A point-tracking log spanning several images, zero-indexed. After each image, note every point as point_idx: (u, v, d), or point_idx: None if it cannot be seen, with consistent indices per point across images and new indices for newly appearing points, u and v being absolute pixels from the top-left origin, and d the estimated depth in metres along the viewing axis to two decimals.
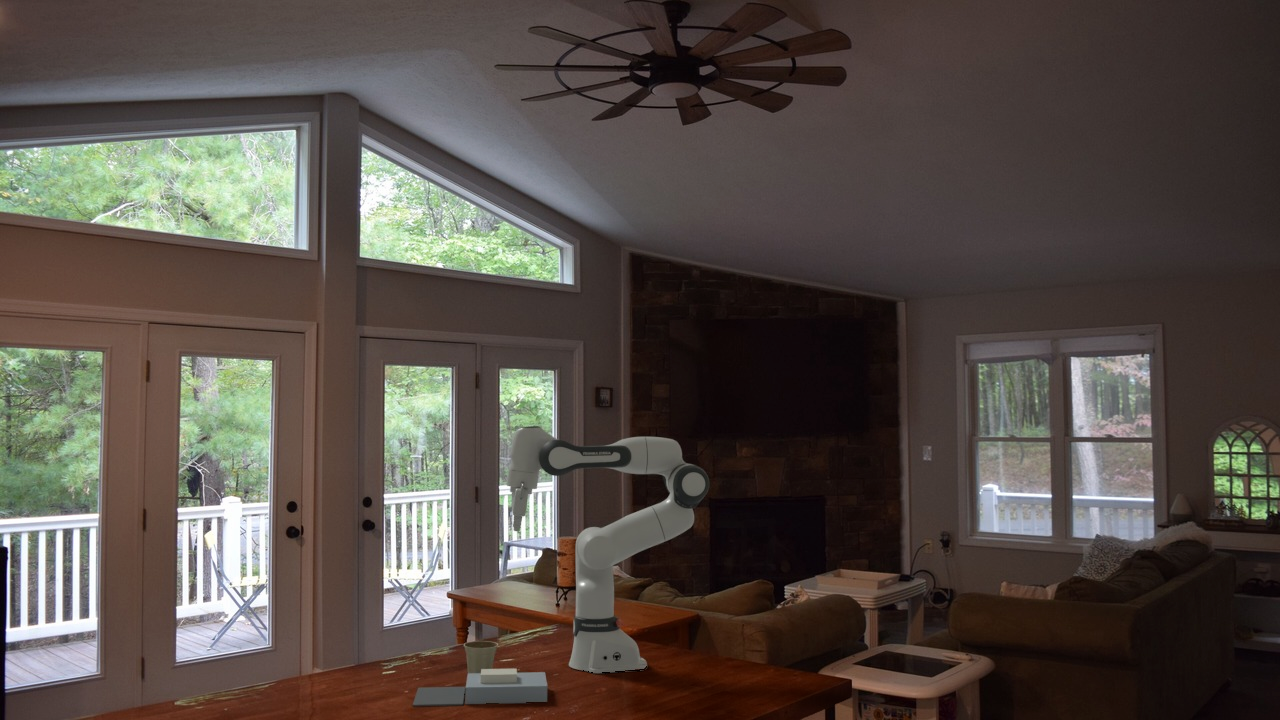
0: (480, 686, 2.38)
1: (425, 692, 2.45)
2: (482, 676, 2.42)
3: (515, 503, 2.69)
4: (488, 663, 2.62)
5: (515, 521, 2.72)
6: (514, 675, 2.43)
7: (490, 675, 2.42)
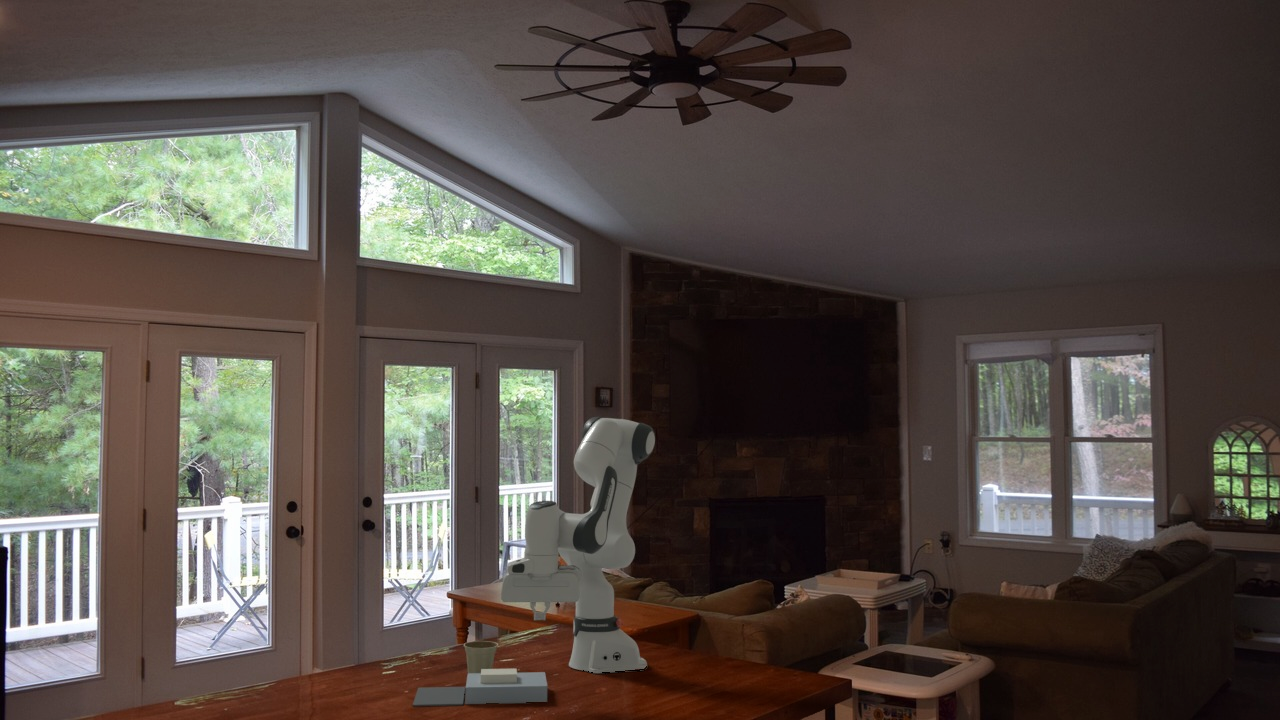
0: (480, 686, 2.38)
1: (425, 692, 2.45)
2: (482, 676, 2.42)
3: (579, 588, 2.48)
4: (488, 663, 2.62)
5: None
6: (514, 675, 2.43)
7: (490, 675, 2.42)
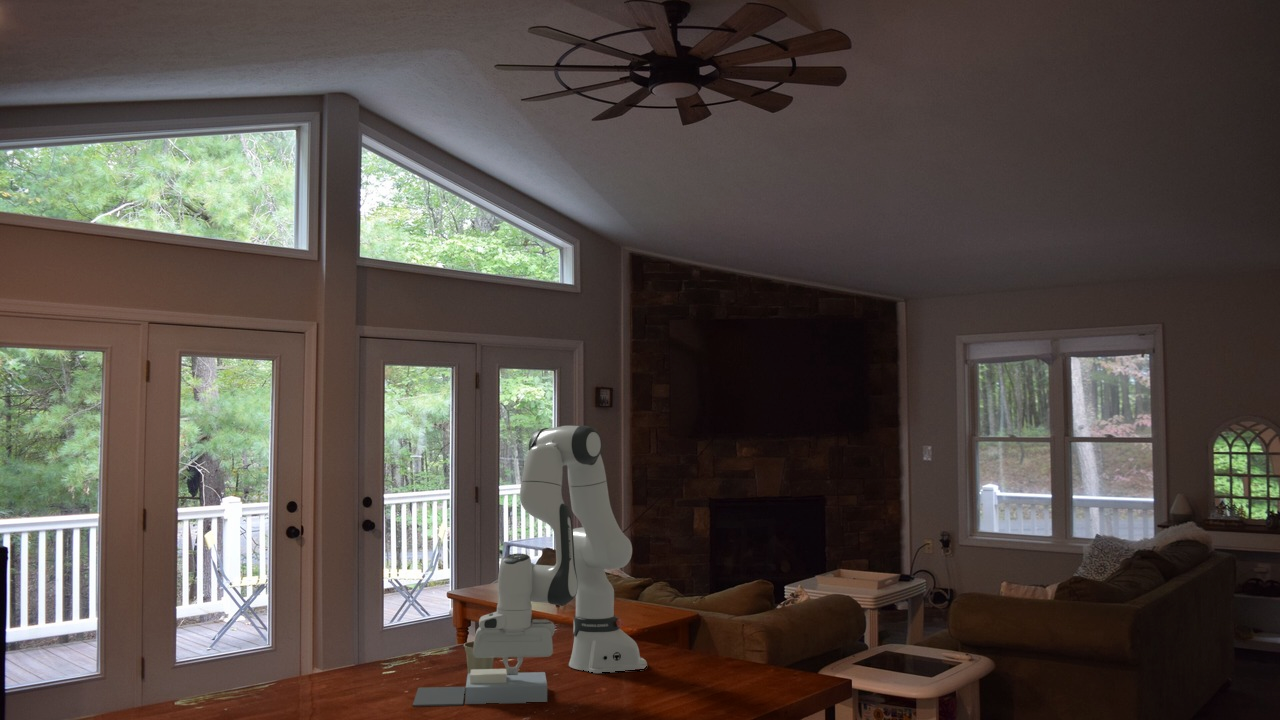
0: (480, 686, 2.38)
1: (425, 692, 2.45)
2: (471, 676, 2.41)
3: None
4: (488, 663, 2.62)
5: None
6: (504, 675, 2.43)
7: (479, 675, 2.42)
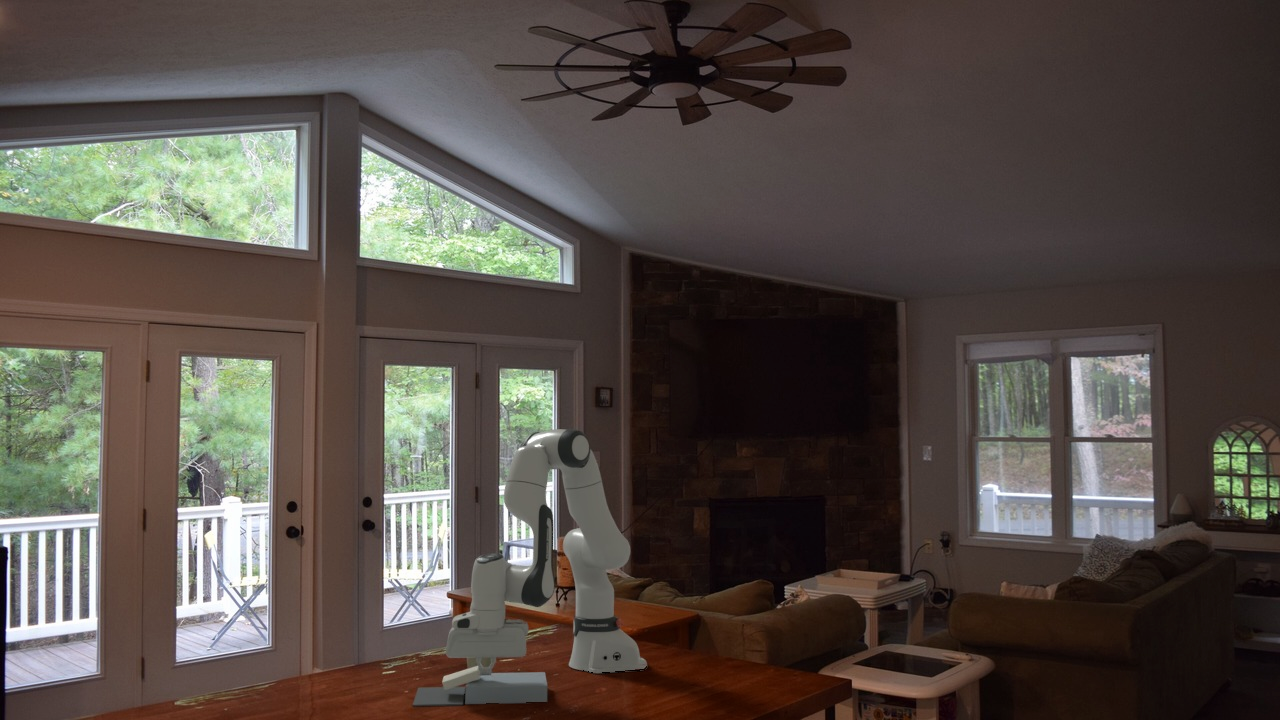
0: (480, 686, 2.38)
1: (425, 692, 2.45)
2: (444, 683, 2.40)
3: (525, 643, 2.45)
4: (488, 663, 2.62)
5: None
6: (475, 673, 2.42)
7: (452, 680, 2.41)
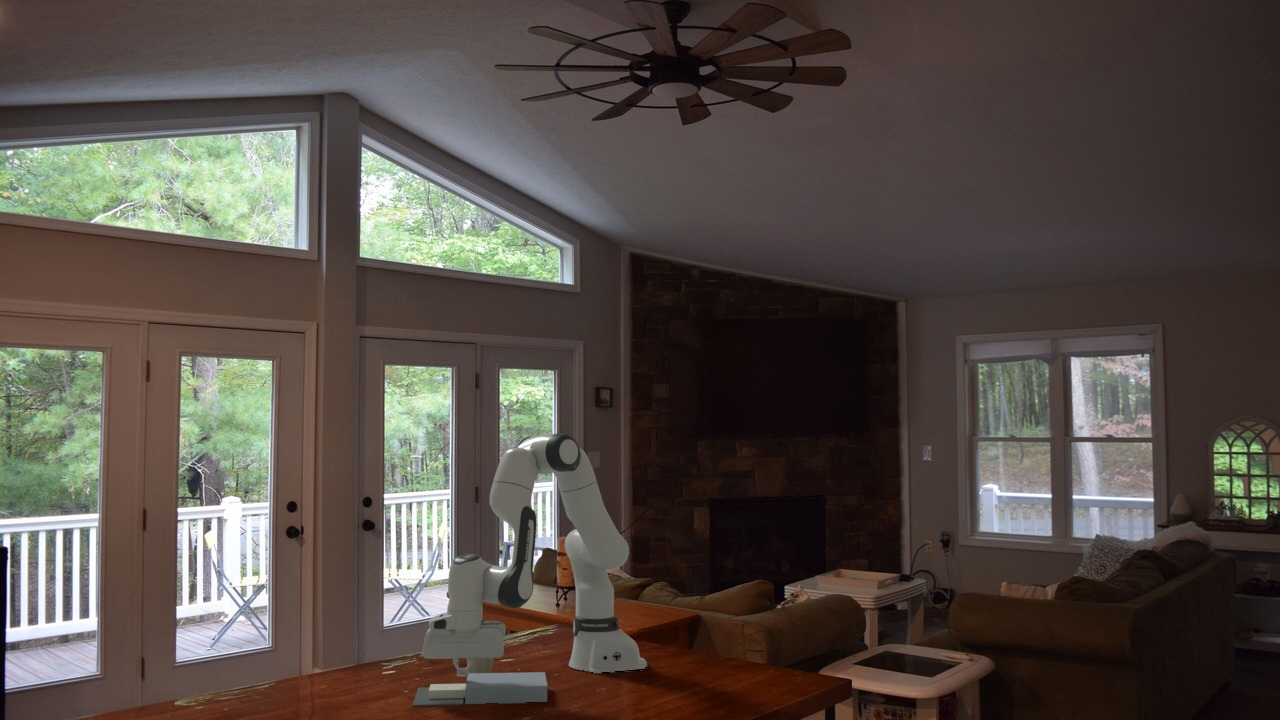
0: (480, 686, 2.38)
1: (425, 692, 2.45)
2: (430, 692, 2.40)
3: (503, 644, 2.45)
4: (488, 663, 2.62)
5: (471, 665, 2.44)
6: (463, 690, 2.41)
7: (438, 691, 2.40)
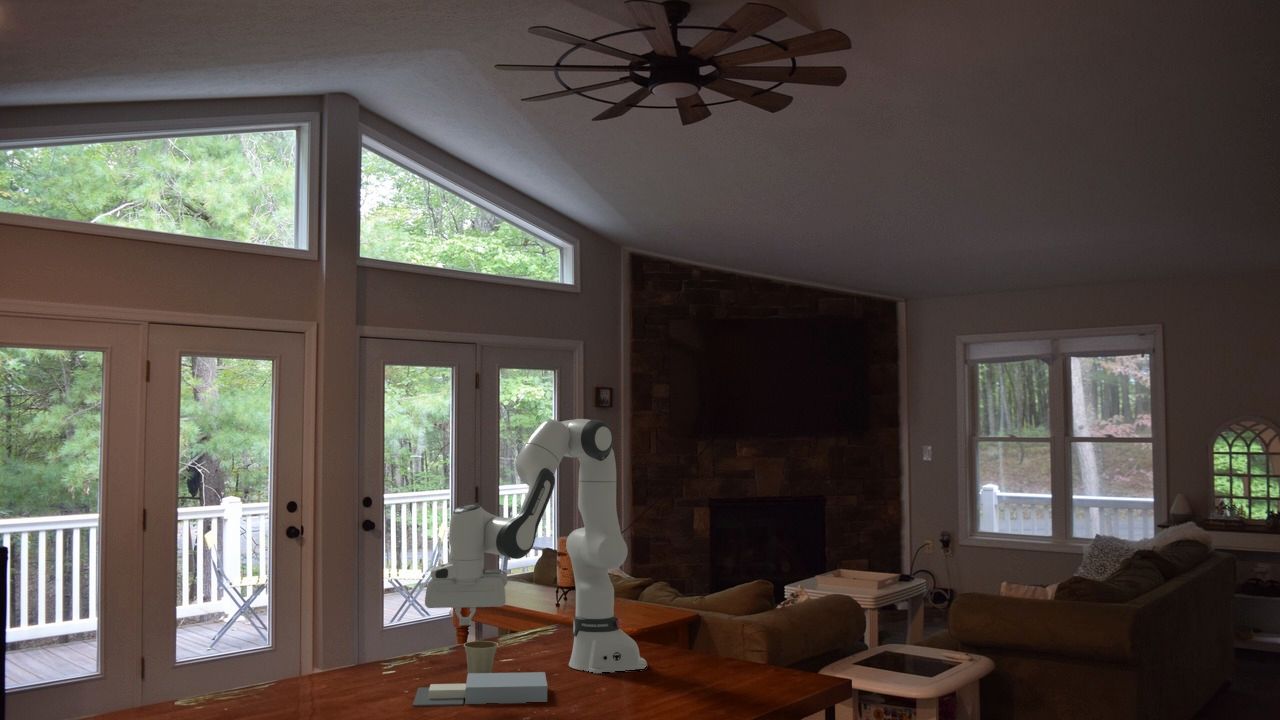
0: (480, 686, 2.38)
1: (425, 692, 2.45)
2: (430, 692, 2.40)
3: (504, 593, 2.46)
4: (488, 663, 2.62)
5: (473, 614, 2.45)
6: (463, 690, 2.41)
7: (438, 691, 2.40)
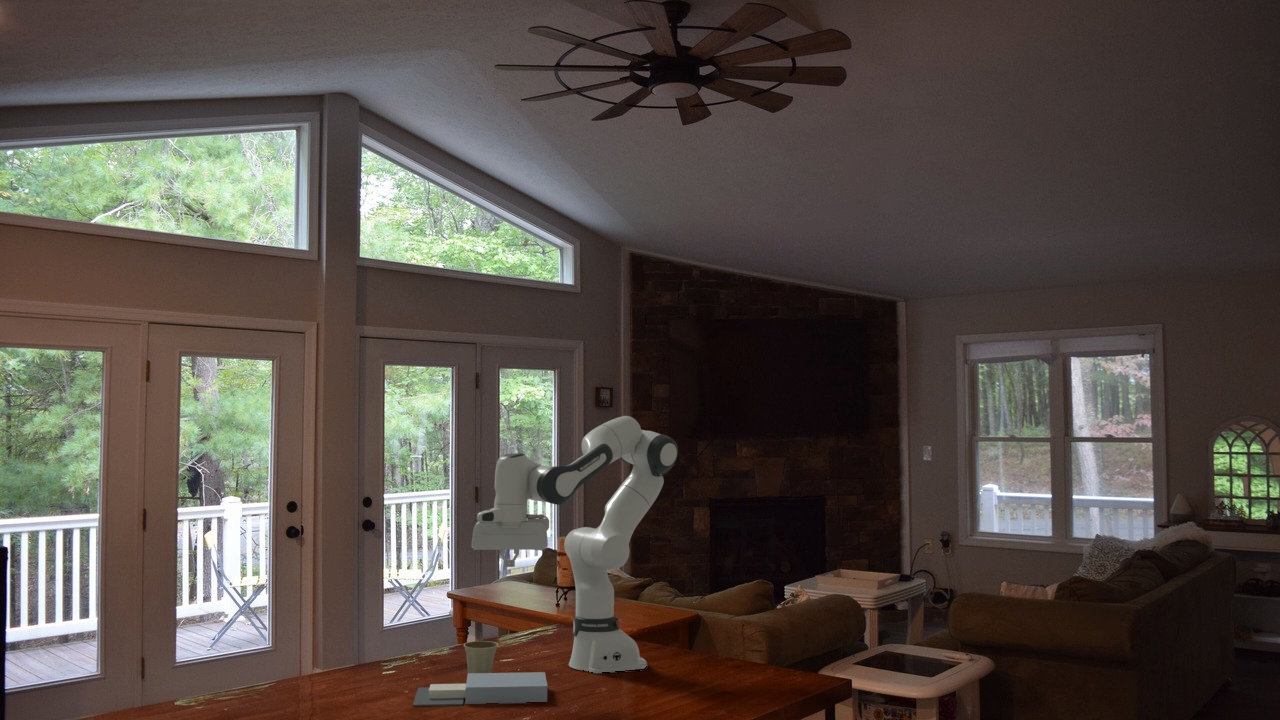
0: (480, 686, 2.38)
1: (425, 692, 2.45)
2: (430, 692, 2.40)
3: None
4: (488, 663, 2.62)
5: (517, 556, 2.57)
6: (463, 690, 2.41)
7: (438, 691, 2.40)
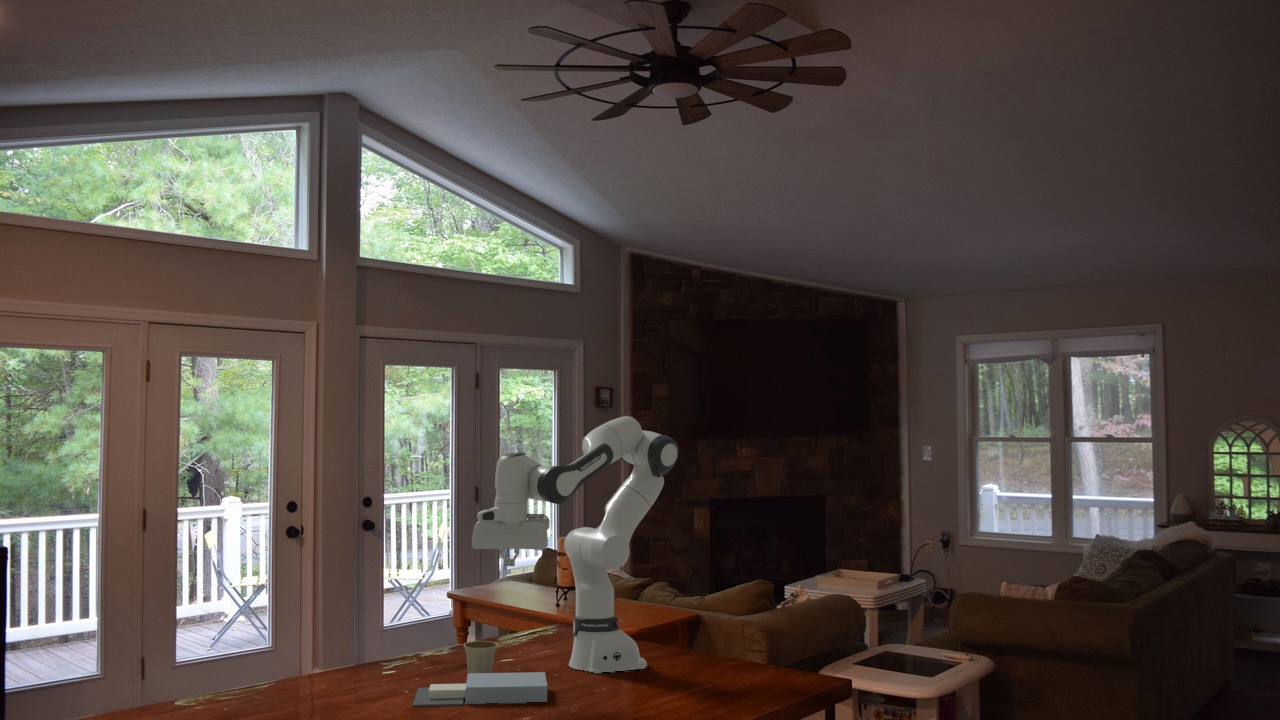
0: (480, 686, 2.38)
1: (425, 692, 2.45)
2: (430, 692, 2.40)
3: (547, 536, 2.58)
4: (488, 663, 2.62)
5: (517, 555, 2.57)
6: (463, 690, 2.41)
7: (438, 691, 2.40)
